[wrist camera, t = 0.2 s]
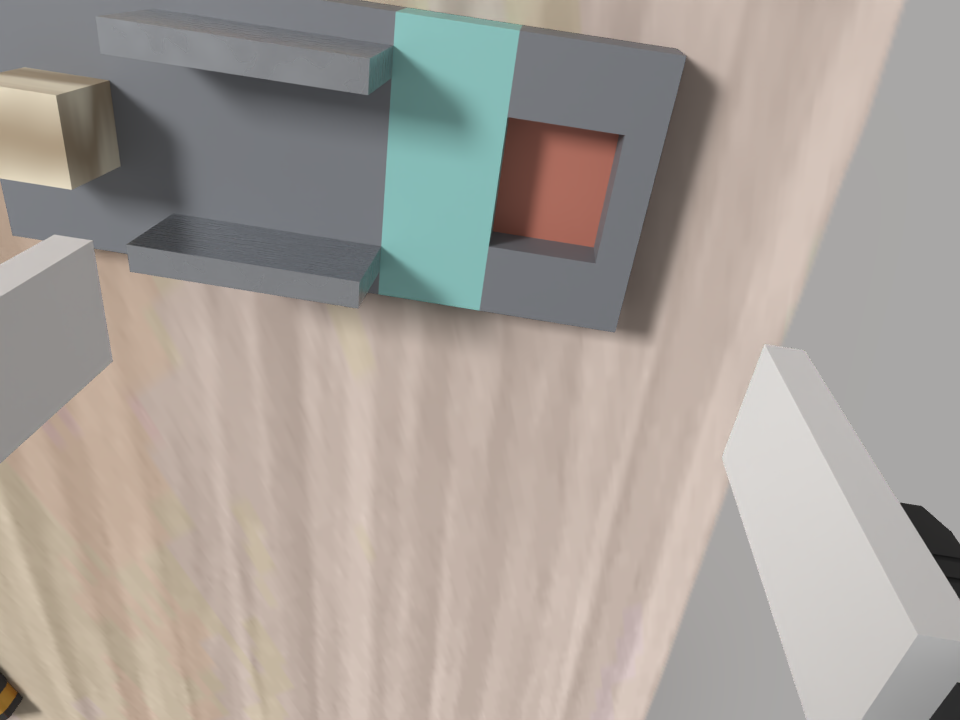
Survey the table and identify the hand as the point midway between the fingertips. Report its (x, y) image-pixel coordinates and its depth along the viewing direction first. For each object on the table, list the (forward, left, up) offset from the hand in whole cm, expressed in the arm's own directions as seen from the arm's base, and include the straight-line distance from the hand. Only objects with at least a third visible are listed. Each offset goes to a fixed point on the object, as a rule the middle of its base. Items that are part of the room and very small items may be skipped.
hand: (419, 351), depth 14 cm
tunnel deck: (+4, -10, -28) cm, 30 cm away
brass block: (+4, -23, -25) cm, 34 cm away
